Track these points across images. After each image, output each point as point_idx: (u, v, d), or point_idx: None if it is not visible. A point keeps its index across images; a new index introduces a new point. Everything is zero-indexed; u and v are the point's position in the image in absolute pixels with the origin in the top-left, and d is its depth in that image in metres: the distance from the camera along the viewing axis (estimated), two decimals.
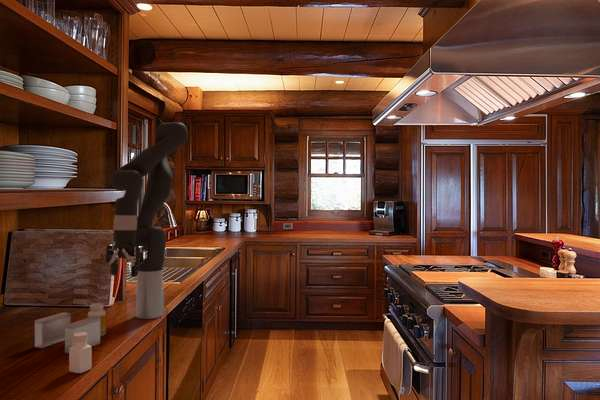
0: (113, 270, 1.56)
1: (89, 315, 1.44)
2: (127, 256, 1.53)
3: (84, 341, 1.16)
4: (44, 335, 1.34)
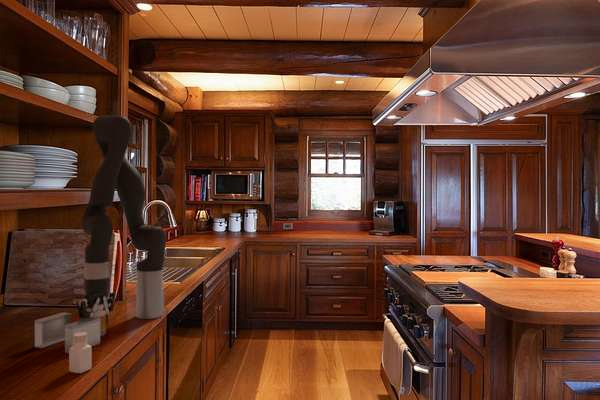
0: None
1: None
2: (106, 304, 1.48)
3: (84, 341, 1.16)
4: (44, 335, 1.34)
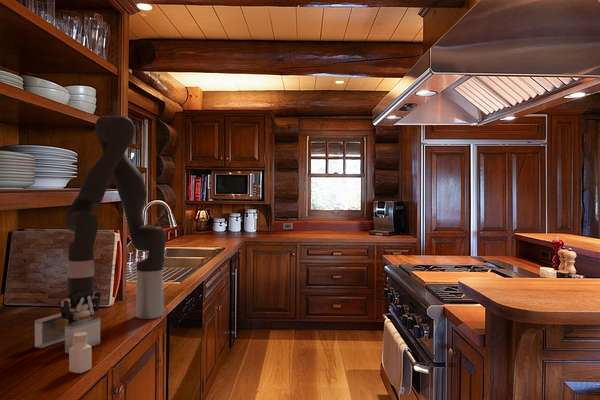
0: None
1: None
2: (90, 304, 1.42)
3: (84, 341, 1.16)
4: (44, 335, 1.34)
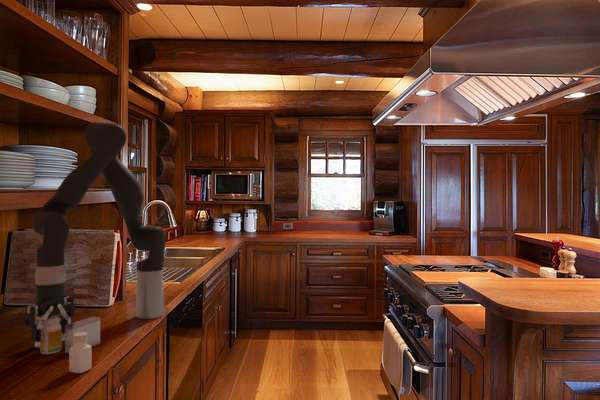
0: None
1: (42, 330, 1.28)
2: (63, 311, 1.32)
3: (84, 341, 1.16)
4: None
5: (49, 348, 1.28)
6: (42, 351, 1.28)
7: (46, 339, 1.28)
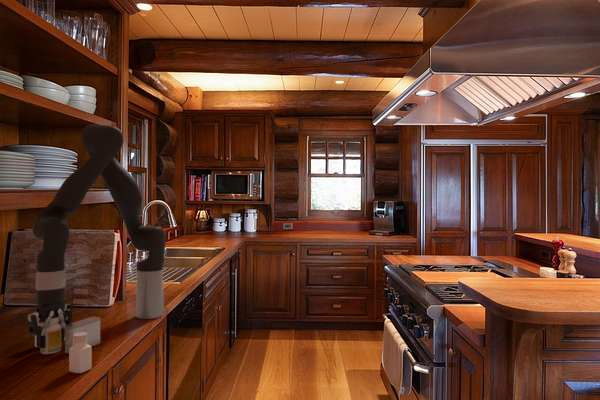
0: None
1: None
2: (61, 317, 1.32)
3: (84, 341, 1.16)
4: None
5: (49, 348, 1.28)
6: (42, 351, 1.28)
7: (46, 339, 1.28)
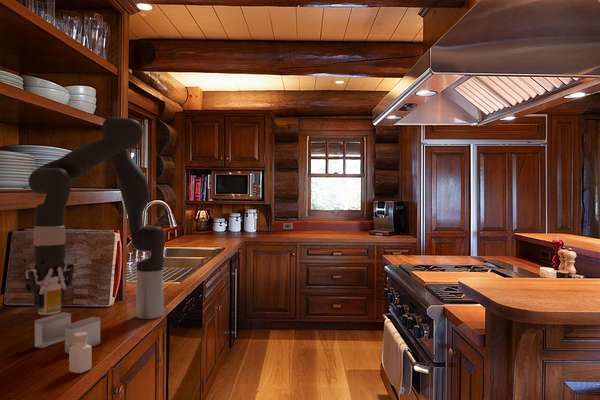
0: None
1: None
2: (61, 277, 1.23)
3: (84, 341, 1.16)
4: (44, 335, 1.34)
5: (48, 308, 1.20)
6: (40, 311, 1.20)
7: (44, 298, 1.19)
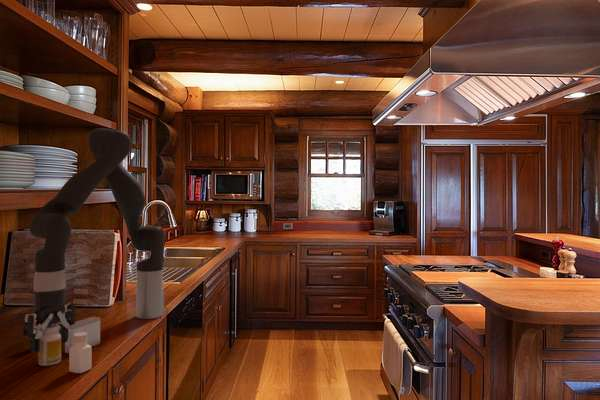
0: None
1: (40, 340, 1.20)
2: (63, 319, 1.24)
3: (84, 341, 1.16)
4: None
5: (48, 359, 1.20)
6: (40, 362, 1.20)
7: (44, 349, 1.20)
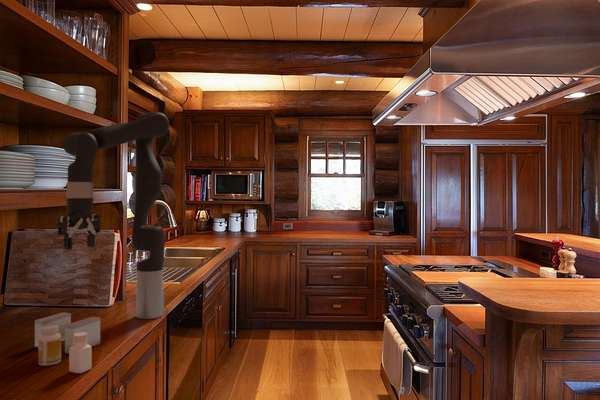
0: None
1: (40, 340, 1.20)
2: (91, 225, 1.45)
3: (84, 341, 1.16)
4: None
5: (48, 359, 1.20)
6: (40, 362, 1.20)
7: (44, 349, 1.20)
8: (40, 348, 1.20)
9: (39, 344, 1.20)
